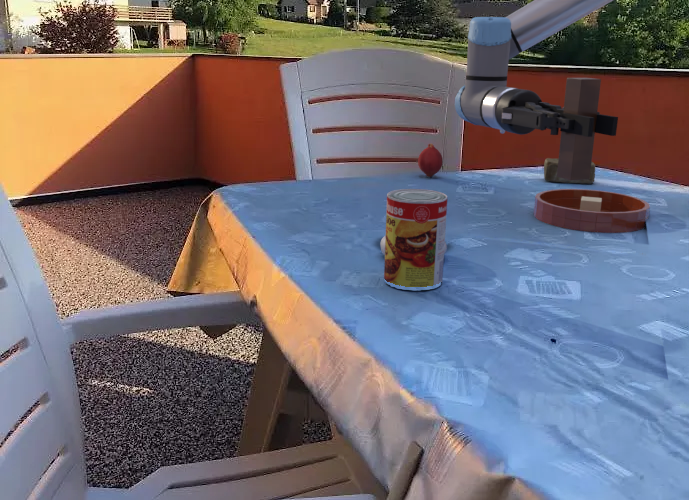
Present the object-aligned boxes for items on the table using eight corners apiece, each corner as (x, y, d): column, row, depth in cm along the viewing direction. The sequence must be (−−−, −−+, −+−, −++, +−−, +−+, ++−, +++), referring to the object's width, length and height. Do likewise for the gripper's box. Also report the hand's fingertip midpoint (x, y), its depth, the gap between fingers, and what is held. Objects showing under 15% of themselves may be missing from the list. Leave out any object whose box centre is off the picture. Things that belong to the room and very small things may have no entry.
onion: (422, 173, 171) (423, 140, 169) (445, 176, 169) (447, 142, 167) (413, 177, 166) (415, 143, 164) (437, 180, 164) (439, 145, 162)
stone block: (541, 177, 169) (544, 156, 168) (591, 180, 167) (594, 159, 166) (544, 182, 164) (546, 160, 162) (595, 185, 162) (598, 163, 160)
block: (599, 216, 131) (601, 197, 130) (599, 220, 128) (601, 201, 127) (579, 214, 132) (581, 196, 131) (578, 218, 129) (580, 200, 128)
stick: (575, 175, 112) (585, 77, 108) (589, 179, 109) (601, 79, 104) (556, 176, 111) (566, 77, 106) (570, 180, 108) (581, 79, 103)
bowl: (644, 214, 135) (647, 194, 134) (648, 241, 117) (652, 217, 116) (539, 205, 141) (541, 185, 140) (527, 228, 124) (529, 206, 123)
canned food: (384, 271, 100) (387, 187, 96) (441, 273, 99) (446, 189, 96) (382, 290, 92) (386, 200, 89) (443, 293, 92) (449, 202, 88)
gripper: (551, 130, 127) (645, 150, 106) (469, 133, 122) (552, 155, 101) (555, 88, 125) (652, 99, 104) (472, 88, 120) (557, 101, 99)
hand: (602, 126), depth 102 cm, fingers closed on stick, 3 cm apart
